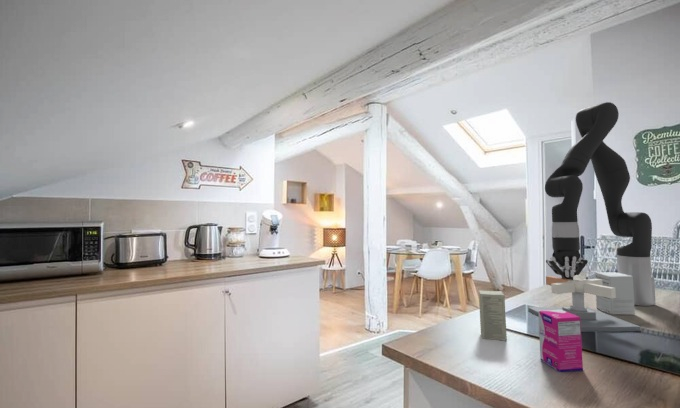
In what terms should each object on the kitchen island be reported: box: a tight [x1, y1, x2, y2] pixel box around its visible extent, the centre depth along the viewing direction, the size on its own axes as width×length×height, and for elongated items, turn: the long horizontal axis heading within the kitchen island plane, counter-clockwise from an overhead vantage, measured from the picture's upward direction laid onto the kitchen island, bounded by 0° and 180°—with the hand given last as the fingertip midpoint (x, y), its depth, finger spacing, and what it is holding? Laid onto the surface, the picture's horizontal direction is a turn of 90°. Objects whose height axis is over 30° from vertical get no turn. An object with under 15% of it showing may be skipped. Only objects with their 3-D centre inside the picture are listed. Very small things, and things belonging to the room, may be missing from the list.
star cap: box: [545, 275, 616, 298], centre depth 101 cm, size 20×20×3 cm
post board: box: [527, 292, 642, 333], centre depth 101 cm, size 20×20×9 cm
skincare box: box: [478, 289, 508, 341], centre depth 88 cm, size 6×4×12 cm
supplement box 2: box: [594, 271, 636, 316], centre depth 109 cm, size 7×7×13 cm
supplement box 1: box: [538, 309, 584, 373], centre depth 71 cm, size 6×6×12 cm
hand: (567, 287), depth 107 cm, fingers closed
